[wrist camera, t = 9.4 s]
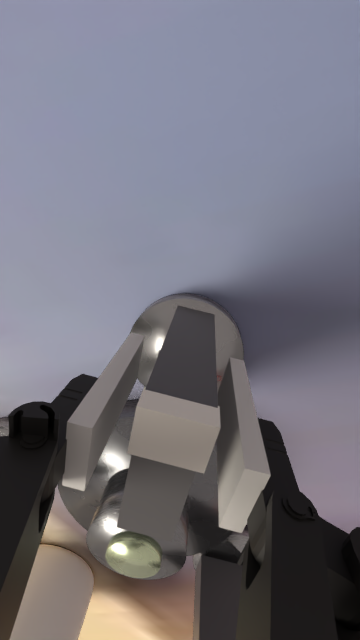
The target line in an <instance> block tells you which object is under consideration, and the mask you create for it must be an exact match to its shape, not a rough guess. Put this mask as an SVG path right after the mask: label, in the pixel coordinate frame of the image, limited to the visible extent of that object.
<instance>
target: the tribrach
mask: <svg viewBox="0 0 360 640" xmlns="http://www.w3.org/2000/svg"><path fill="white" fill-rule="evenodd" d="M178 305H179V306H183V307H187V308H191V309H195V310H199V311H203V312H207V313H211V314H214V315H215V342H216V370H217V393H218V390H219V387H220V385H221V382H222V379H223V376H224V373H225V370H226V367H227V364H228V361H229V358H230V357H231V358H235V359H239V360H243V355H244V351H243V344H242V340H241V336H240V332H239V329H238V327H237V325H236V322H235V321H234V319H233V318H232V316H231V315H230V314H229V313H228V312H227V311H226V310H225V309H224V308H223V307H222V306H221V305H219V304H218V303H216V302H215V301H213V300H211V299H209V298H206V297H203V296H200V295H195V294H187V293H186V294H174V295H170V296H166V297H163V298H161V299H159V300H157V301H156V302H154V303H152V304H151V305H150V306H149V307H148V308H146V309H145V311H144V312H143V313H142V314H141V315H140V317H139V318H138V320H137V321H136V322H135V324H134V326H133V327H132V330H131V332H132V333H136V334H140V335H144V336H145V339H144V344H143V349H142V355H141V360H140V365H139V370H138V375H137V379H138V380H139V381H140V382H141V383H142V384H143V385H144V386H145V387H146V386H147V383H148V381H149V378H150V376H151V373H152V371H153V368H154V365H155V363H156V360H157V358H158V355H159V353H160V350H161V347H162V345H163V342H164V340H165V337H166V335H167V332H168V329H169V327H170V324H171V322H172V319H173V317H174V314H175V311H176V309H177V306H178ZM131 332H130V333H131ZM138 401H139V399H138V400H128V401H126V403H125V405H124V407H123V410H122V412H121V414H120V416H119V418H118V420H117V422H116V425H115V427H114V429H113V431H112V433H111V435H110V437H109V440H108V442H107V444H106V446H105V448H104V450H103V452H102V455H101V457H100V459H99V461H98V463H97V465H96V467H95V470H94V472H93V474H92V476H91V478H90V480H89V482H88V485H87V487H86V489H85V491H81V490H78V489H74V488H70V487H66V486H63V485H62V481H63V476H62V477H61V479H60V481H59V483H58V489H59V492H60V496H61V498H62V500H63V502H64V505H65V506H66V508H67V509H68V511H69V512H70V514H71V515H72V516H73V517H74V518H75V520H76V521H77V522H78V523H79V524H80V525H81V526H82V527H84V528H85V529H86V530H87V531H88V532H87V537H86V540H87V545H88V548H89V550H90V552H91V553H92V555H93V556H94V557H95V558H96V559H97V560H98V561H99V562H100V563H101V564H103V565H104V566H105V567H107V568H109V569H110V570H112V571H114V572H116V573H119V574H121V575H124V576H127V577H131V578H136V579H144V580H153V579H161V578H165V577H168V576H171V575H173V574H175V573H176V572H178V571H179V570H180V569H181V568H182V567H183V565H184V563H185V561H186V556H190V555H193V565H194V568H195V570H196V567H197V564H198V562H199V560H200V557H201V555H204V556H208V557H212V558H216V559H220V560H223V561H227V562H231V563H235V564H237V562H238V559H239V556H240V554H241V552H242V550H243V549H244V547H245V545H246V543H247V541H248V539H249V533H248V527H247V526H245V528H244V530H243V532H242V533H239V532H235V531H231V530H228V529H224V528H220V527H219V511H218V472H217V439H216V442H215V445H214V447H213V450H212V453H211V456H210V458H209V461H208V464H207V467H206V469H205V472H204V474H203V473H200V472H196V473H195V476H194V479H193V482H192V484H191V487H190V490H189V493H188V496H187V499H186V502H185V505H184V507H183V510H182V513H181V516H180V519H179V522H178V525H177V528H176V531H175V533H174V536H173V539H172V542H169V541H165V540H162V539H158V538H154V537H150V536H147V535H143V534H139V533H136V532H132V531H128V530H125V529H121V528H117V527H116V526H117V522H118V517H119V512H120V507H121V502H122V498H123V493H124V488H125V483H126V479H127V474H128V469H129V464H130V459H131V454H127V451H128V446H129V441H130V436H131V431H132V426H133V421H134V416H135V411H136V406H137V404H138ZM8 435H9V418H8V417H6V418H0V436H8ZM241 565H243V562H242V564H241Z"/></svg>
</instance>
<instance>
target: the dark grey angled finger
mask: <svg viewBox="0 0 360 640" xmlns="http://www.w3.org/2000/svg"><path fill="white" fill-rule="evenodd" d="M242 569H243V565H241V566H240V565H238V564H235V563H231V562H227V561H223V560H220V559H216V558H212V557H208V556H204V555H201V557H200V560H199V562H198V564H197V567H196V576H195V599H194V622H193V640H235V639H236V629H237V619H238V609H239V599H240V589H241V579H242Z"/></svg>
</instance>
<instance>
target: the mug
mask: <svg viewBox="0 0 360 640" xmlns="http://www.w3.org/2000/svg"><path fill="white" fill-rule="evenodd" d="M93 587H94V577H93V573H92V570H91V568H90V567H89V565H88V564H87V563H86V562H85V561H84V560H83V559H82V558H81V557H80V556H78V555H77V554H75V553H73V552H71V551H69V550H67V549H64V548H62V547H58V546H54V545H47V544H40V545H39V548H38V551H37V554H36V557H35V561H34V564H33V567H32V570H31V573H30V576H29V580H28V583H27V586H26V589H25V592H24V595H23V598H22V602H21V605H20V608H19V611H18V614H17V617H16V621H15V624H14V627H13V630H12V633H11V636H10V640H78V637H79V634H80V631H81V628H82V625H83V621H84V618H85V615H86V612H87V609H88V606H89V602H90V599H91V595H92V592H93Z"/></svg>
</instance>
